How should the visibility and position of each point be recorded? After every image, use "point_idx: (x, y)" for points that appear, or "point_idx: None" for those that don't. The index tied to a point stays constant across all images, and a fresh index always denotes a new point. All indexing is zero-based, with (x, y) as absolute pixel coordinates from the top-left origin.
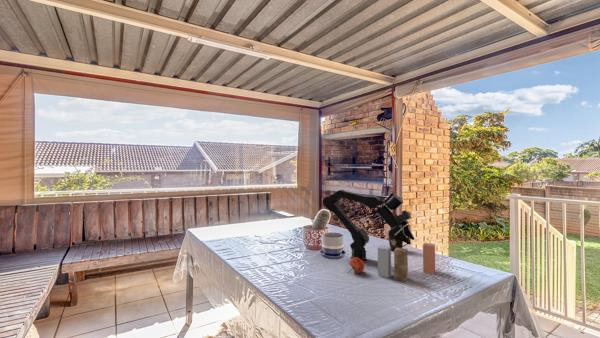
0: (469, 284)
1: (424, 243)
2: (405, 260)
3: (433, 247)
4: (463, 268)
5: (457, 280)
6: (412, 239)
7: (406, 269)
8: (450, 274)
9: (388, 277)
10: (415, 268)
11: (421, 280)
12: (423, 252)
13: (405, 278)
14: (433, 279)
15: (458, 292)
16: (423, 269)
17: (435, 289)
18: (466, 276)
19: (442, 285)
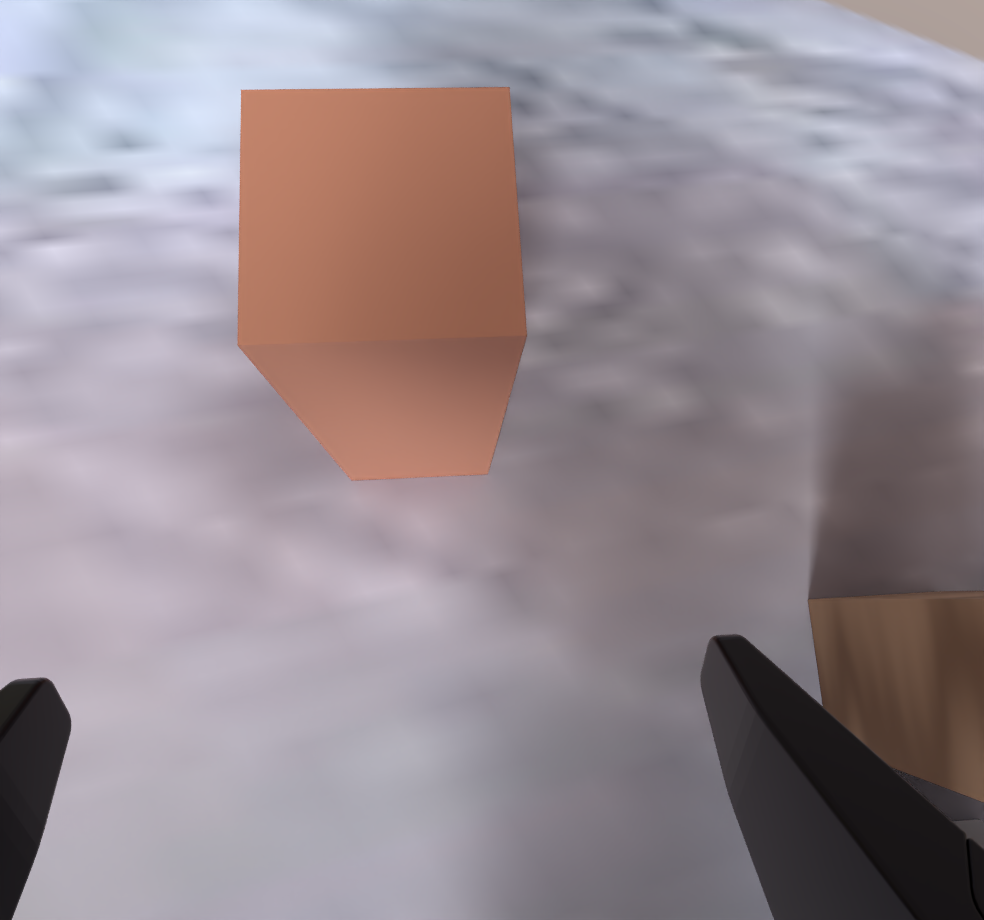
0: (583, 10)
1: (338, 328)
2: None
3: (506, 117)
4: (52, 76)
5: (536, 110)
6: (58, 751)
7: (969, 594)
8: None
9: (976, 821)
10: (386, 599)
11: (783, 436)
12: (509, 388)
13: (962, 591)
14: (664, 326)
15: (861, 84)
16: (490, 463)
17: (935, 268)
18: (346, 40)
19: (782, 223)
